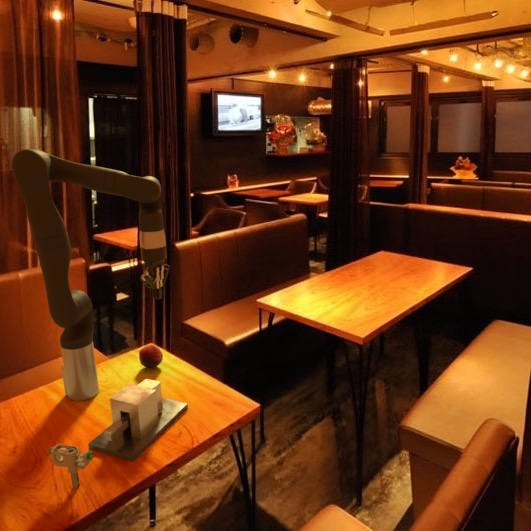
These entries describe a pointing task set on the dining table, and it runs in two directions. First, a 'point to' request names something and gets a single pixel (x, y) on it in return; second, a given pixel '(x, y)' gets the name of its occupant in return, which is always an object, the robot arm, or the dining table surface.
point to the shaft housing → (137, 422)
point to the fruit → (150, 356)
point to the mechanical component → (71, 460)
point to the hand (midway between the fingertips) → (157, 298)
